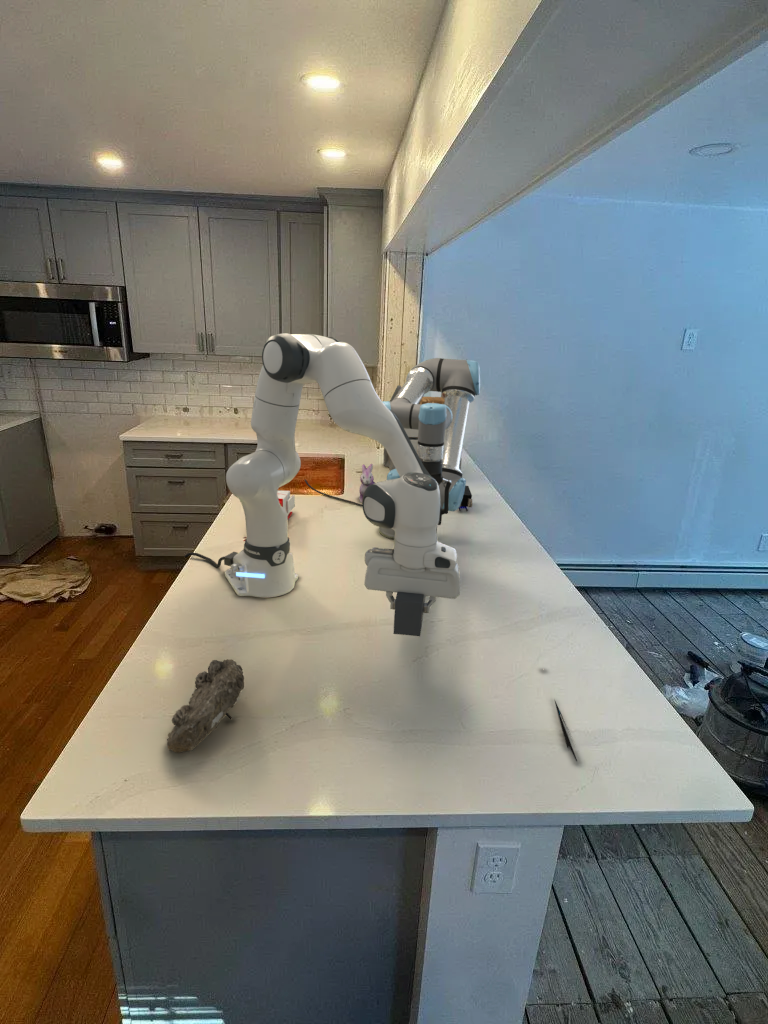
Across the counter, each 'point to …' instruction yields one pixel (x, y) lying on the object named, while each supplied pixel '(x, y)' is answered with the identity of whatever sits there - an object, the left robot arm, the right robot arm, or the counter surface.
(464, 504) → the figurine character
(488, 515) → the counter surface
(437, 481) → the right robot arm
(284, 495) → the toy
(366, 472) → the figurine
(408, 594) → the post
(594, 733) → the counter surface
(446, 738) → the counter surface
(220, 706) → the fossil
